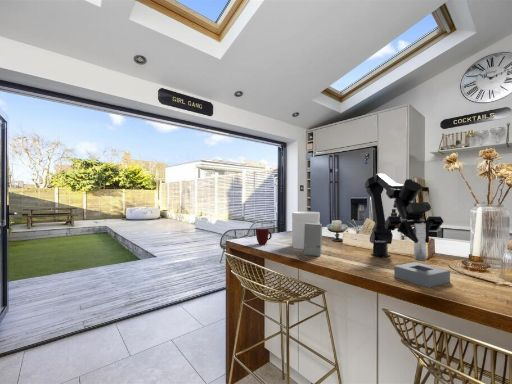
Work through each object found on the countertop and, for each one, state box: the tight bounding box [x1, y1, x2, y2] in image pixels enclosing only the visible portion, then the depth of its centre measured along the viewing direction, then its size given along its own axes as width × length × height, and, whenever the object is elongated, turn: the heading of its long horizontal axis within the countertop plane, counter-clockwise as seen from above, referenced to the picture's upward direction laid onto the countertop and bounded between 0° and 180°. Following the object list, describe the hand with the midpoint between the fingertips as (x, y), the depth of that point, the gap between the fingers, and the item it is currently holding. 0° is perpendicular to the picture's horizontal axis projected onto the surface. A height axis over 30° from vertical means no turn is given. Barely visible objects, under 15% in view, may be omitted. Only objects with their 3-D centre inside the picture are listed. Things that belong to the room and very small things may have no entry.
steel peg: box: [413, 223, 427, 262], centre depth 88 cm, size 4×4×13 cm
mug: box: [255, 226, 272, 246], centre depth 152 cm, size 10×8×10 cm
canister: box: [291, 211, 321, 250], centre depth 145 cm, size 16×16×20 cm
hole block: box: [393, 261, 451, 289], centre depth 88 cm, size 12×12×4 cm
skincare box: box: [303, 223, 323, 257], centre depth 126 cm, size 8×7×16 cm
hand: (422, 242), depth 87 cm, fingers closed on steel peg, 3 cm apart
